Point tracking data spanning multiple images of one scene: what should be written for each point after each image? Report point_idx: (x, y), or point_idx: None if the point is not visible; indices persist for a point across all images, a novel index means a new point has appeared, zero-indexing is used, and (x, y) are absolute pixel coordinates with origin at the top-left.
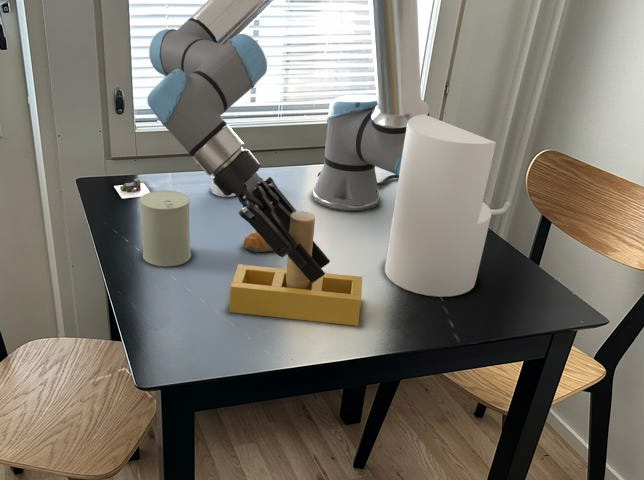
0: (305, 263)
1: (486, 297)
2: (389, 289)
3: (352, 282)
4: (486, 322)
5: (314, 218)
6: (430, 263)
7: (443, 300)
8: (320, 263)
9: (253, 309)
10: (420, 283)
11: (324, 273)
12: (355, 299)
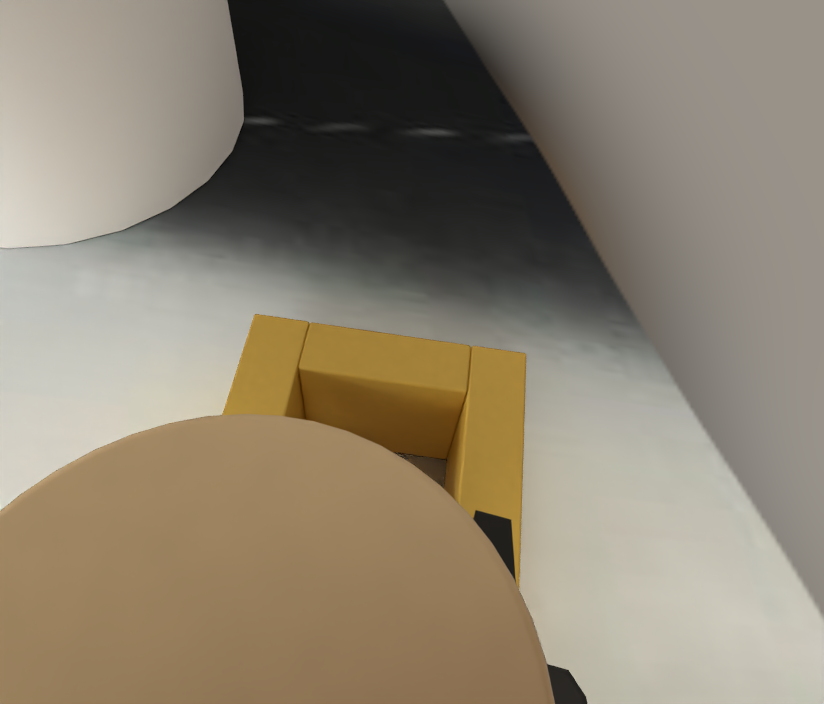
0: (578, 689)
1: (255, 22)
2: (164, 258)
3: (324, 369)
4: (413, 56)
5: (349, 434)
6: (198, 29)
7: (270, 118)
8: None
9: None
10: (205, 136)
11: (493, 515)
12: (525, 379)
